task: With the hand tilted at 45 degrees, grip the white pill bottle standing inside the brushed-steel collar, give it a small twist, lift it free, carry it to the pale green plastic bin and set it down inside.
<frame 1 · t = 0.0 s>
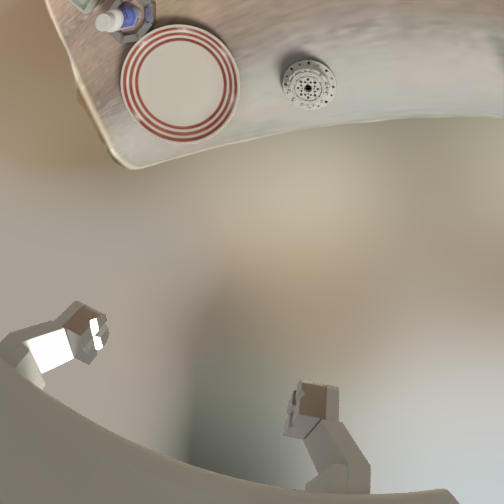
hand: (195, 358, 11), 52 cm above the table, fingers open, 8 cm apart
mechanical component: (309, 83, 47), on the table
dinner plate: (181, 82, 52), on the table
collar: (131, 17, 41), on the table
pill bottle: (132, 17, 42), resting in collar
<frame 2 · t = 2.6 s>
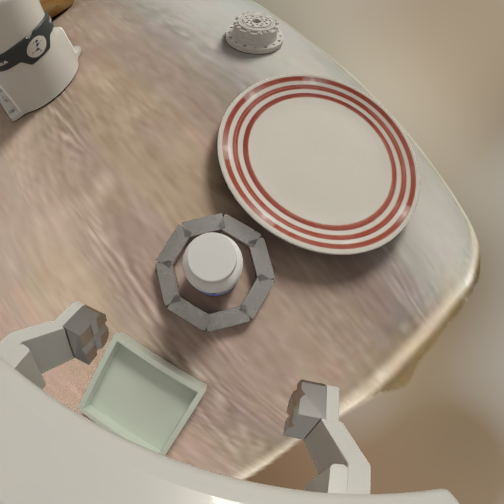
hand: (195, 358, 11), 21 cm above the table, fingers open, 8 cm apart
mechanical component: (254, 40, 41), on the table
dinner plate: (321, 158, 37), on the table
collar: (214, 272, 32), on the table
pill bottle: (214, 272, 32), resting in collar
bread roll: (52, 17, 41), on the table
bin: (141, 396, 29), on the table
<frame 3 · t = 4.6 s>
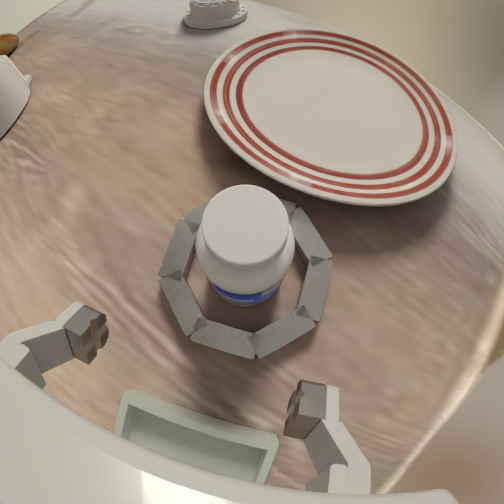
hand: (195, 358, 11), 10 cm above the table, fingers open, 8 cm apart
mechanical component: (215, 18, 34), on the table
dinner plate: (334, 107, 28), on the table
collar: (246, 272, 22), on the table
pill bottle: (246, 272, 22), resting in collar
bread roll: (0, 63, 37), on the table
bin: (186, 471, 17), on the table
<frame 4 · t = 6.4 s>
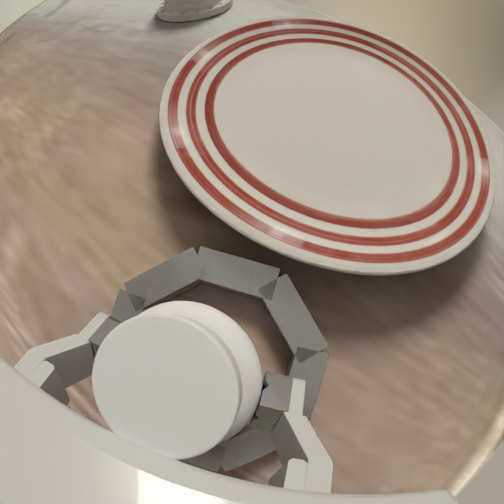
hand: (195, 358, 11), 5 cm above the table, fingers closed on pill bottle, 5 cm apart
mechanical component: (195, 9, 28), on the table
dinner plate: (338, 117, 21), on the table
collar: (209, 362, 16), on the table
pill bottle: (210, 362, 16), resting in collar, touching gripper
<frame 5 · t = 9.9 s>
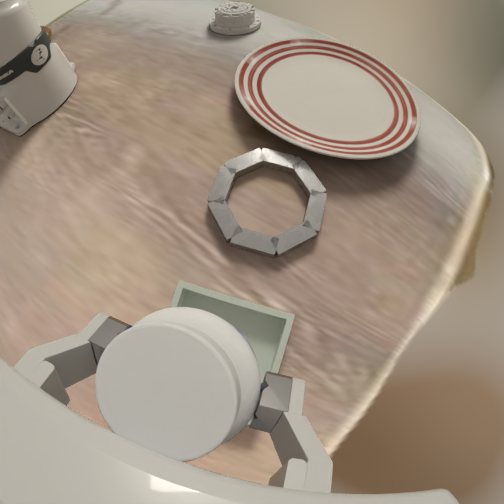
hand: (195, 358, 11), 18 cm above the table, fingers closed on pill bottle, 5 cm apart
mechanical component: (235, 25, 44), on the table
dinner plate: (328, 97, 38), on the table
collar: (267, 201, 32), on the table
pill bottle: (209, 363, 16), point 12 cm above the table, touching gripper
bin: (220, 354, 27), on the table
when the fingers open (7 cm above the table, at t = 12.3 s): pill bottle stays where it is, resting on bin.
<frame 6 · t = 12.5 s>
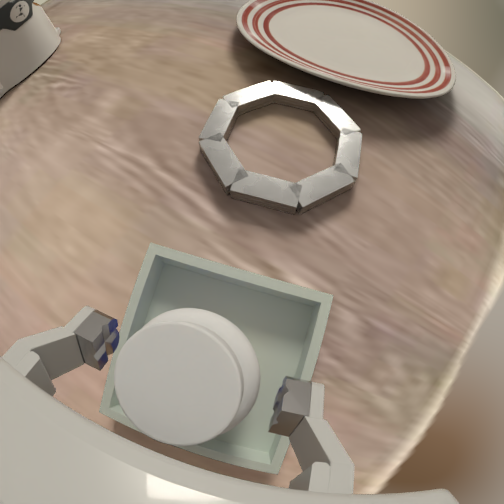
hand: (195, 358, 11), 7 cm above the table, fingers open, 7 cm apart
dinner plate: (347, 43, 28), on the table
collar: (282, 141, 22), on the table
pill bottle: (211, 362, 17), resting on bin
bin: (214, 360, 17), on the table
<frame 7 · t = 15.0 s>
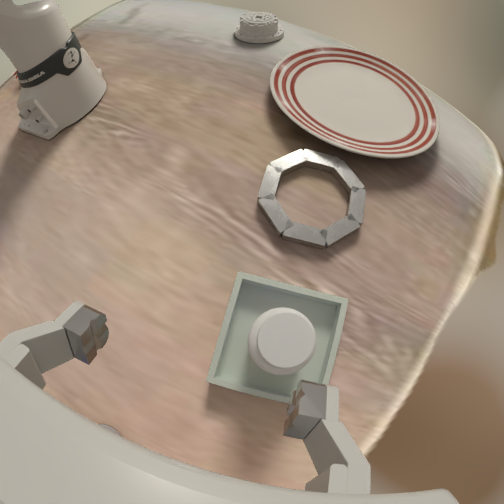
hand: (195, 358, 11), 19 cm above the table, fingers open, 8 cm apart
mechanical component: (259, 34, 47), on the table
dinner plate: (355, 102, 40), on the table
collar: (312, 197, 34), on the table
pill bottle: (276, 343, 28), resting on bin
bin: (278, 342, 29), on the table
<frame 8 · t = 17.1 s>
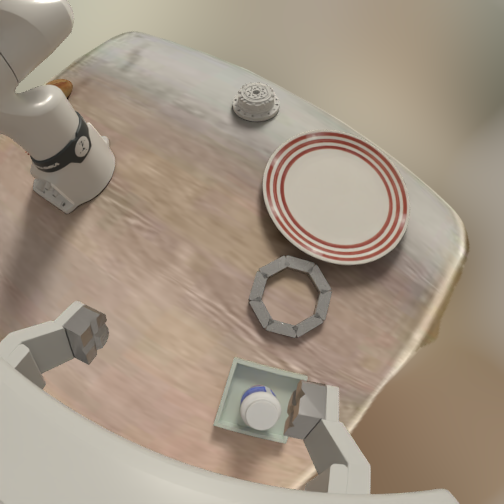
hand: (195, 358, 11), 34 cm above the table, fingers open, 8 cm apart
mechanical component: (256, 107, 58), on the table
dinner plate: (336, 196, 51), on the table
collar: (290, 296, 46), on the table
pill bottle: (258, 400, 41), resting on bin
bread roll: (56, 106, 60), on the table
bin: (260, 399, 41), on the table
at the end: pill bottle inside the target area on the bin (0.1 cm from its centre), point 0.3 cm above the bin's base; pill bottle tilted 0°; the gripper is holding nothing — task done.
